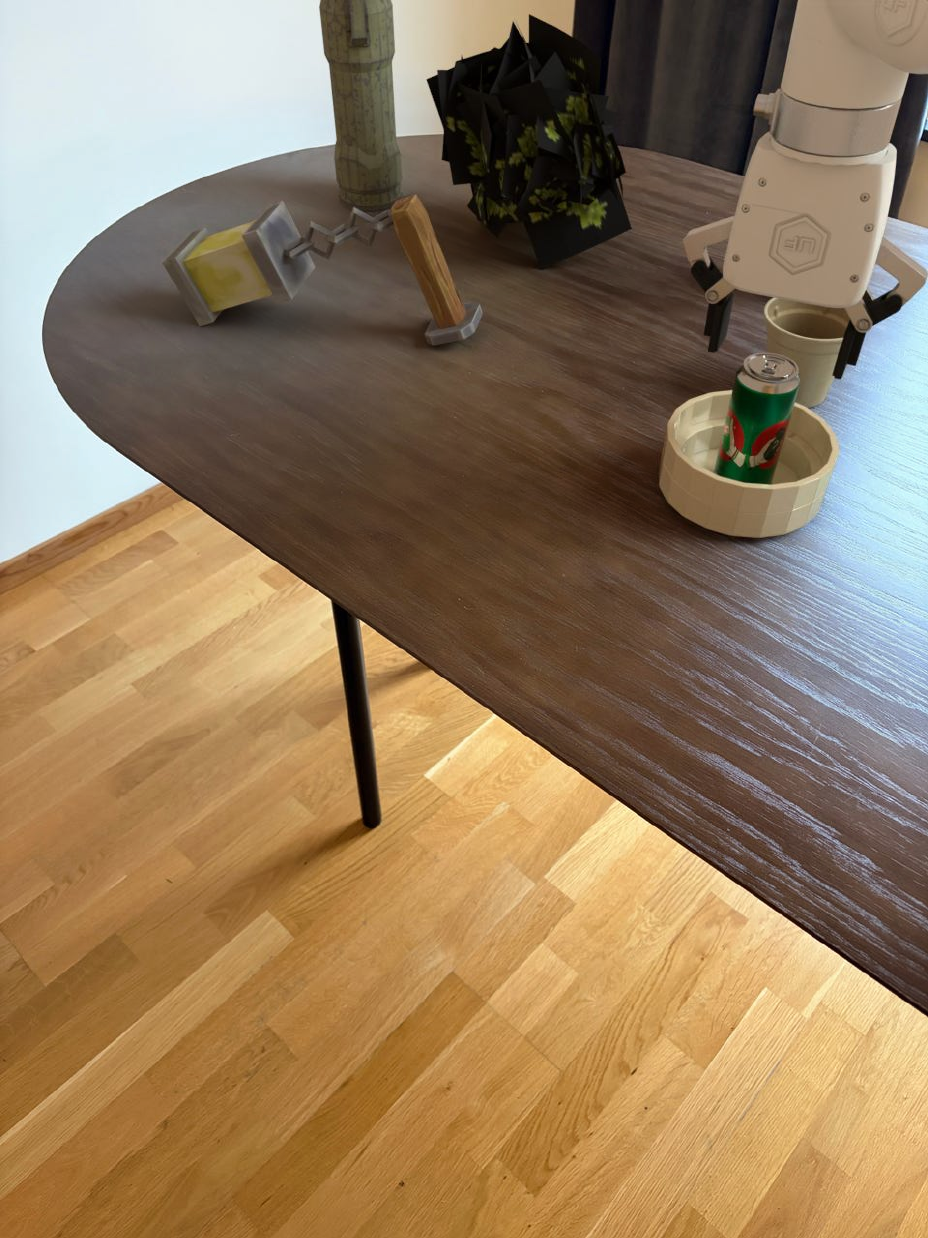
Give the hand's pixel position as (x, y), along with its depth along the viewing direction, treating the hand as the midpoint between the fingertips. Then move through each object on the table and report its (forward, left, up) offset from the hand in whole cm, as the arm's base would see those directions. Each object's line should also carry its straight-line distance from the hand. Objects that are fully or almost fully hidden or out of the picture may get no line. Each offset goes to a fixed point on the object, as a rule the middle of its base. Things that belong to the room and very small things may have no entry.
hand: (776, 357), depth 74 cm
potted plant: (+36, -41, -14) cm, 56 cm away
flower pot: (-1, -18, -14) cm, 23 cm away
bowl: (0, 0, -14) cm, 14 cm away
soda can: (0, 0, -13) cm, 13 cm away
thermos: (+62, -42, -14) cm, 77 cm away
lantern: (+49, -11, -14) cm, 52 cm away
